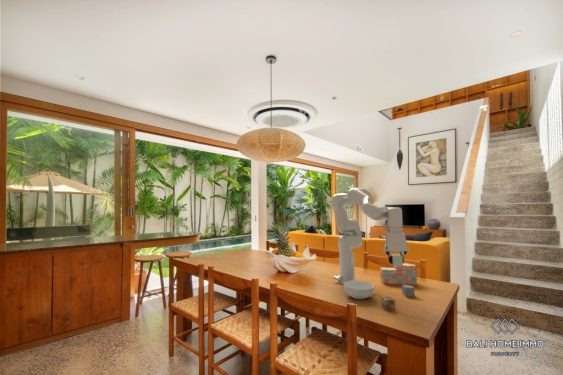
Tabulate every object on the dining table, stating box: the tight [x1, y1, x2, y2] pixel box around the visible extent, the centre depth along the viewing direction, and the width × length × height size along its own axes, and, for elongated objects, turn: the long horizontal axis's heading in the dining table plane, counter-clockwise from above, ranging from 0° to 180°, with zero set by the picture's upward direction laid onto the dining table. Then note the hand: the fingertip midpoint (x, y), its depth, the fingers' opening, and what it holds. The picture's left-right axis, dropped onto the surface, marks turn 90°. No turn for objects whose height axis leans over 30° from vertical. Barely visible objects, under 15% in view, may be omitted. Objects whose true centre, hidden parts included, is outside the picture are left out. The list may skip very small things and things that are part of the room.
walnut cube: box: [381, 296, 396, 311], centre depth 136 cm, size 5×5×5 cm
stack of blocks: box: [379, 262, 418, 286], centre depth 177 cm, size 21×6×12 cm, turn 84°
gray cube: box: [401, 284, 416, 298], centre depth 154 cm, size 5×5×5 cm
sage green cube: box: [389, 253, 404, 267], centre depth 145 cm, size 5×5×5 cm
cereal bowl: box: [343, 279, 375, 300], centre depth 152 cm, size 17×17×7 cm
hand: (396, 263), depth 145 cm, fingers closed on sage green cube, 4 cm apart
